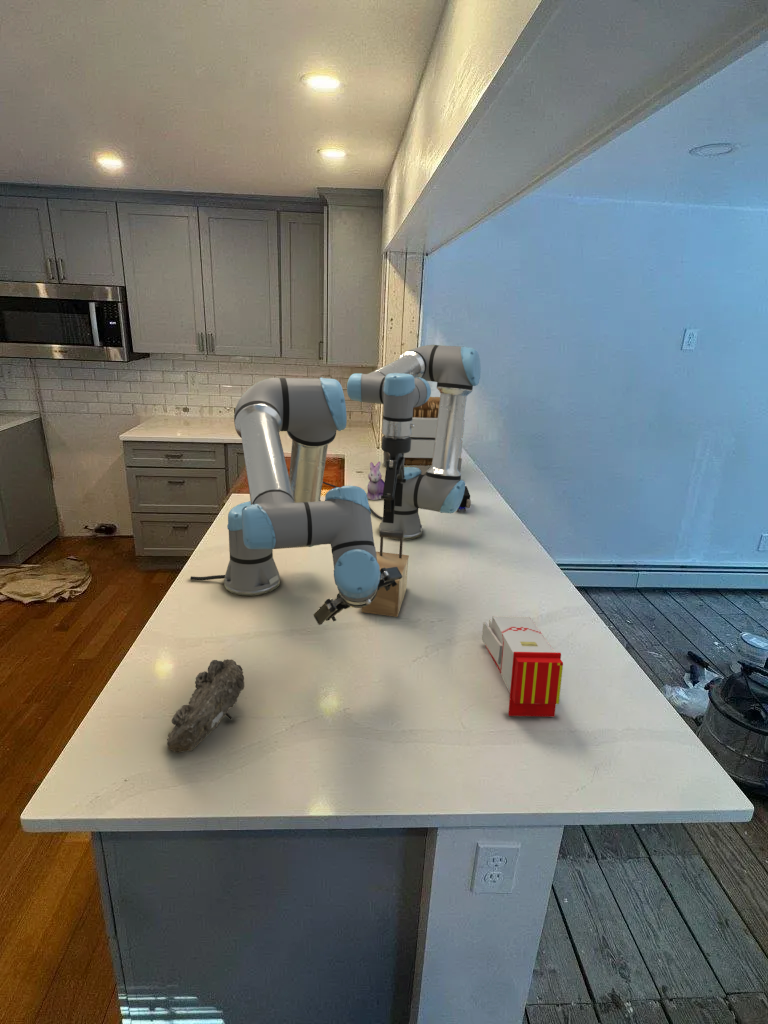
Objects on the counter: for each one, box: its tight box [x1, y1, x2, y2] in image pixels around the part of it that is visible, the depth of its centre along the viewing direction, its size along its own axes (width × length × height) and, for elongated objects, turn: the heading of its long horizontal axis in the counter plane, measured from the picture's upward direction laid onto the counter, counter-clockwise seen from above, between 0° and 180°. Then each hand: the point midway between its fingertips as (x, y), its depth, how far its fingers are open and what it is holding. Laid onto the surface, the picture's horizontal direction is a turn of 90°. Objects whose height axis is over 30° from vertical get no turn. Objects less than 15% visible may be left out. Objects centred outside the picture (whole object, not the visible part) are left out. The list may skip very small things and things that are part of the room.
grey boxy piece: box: [383, 396, 465, 474], centre depth 268 cm, size 34×33×41 cm
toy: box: [481, 615, 564, 718], centre depth 123 cm, size 12×13×30 cm
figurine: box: [366, 461, 385, 501], centre depth 235 cm, size 9×10×15 cm
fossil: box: [166, 658, 245, 754], centre depth 106 cm, size 22×10×15 cm
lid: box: [376, 530, 410, 584], centre depth 150 cm, size 16×10×8 cm, turn 169°
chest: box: [361, 560, 409, 618], centre depth 152 cm, size 16×10×9 cm, turn 169°
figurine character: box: [456, 485, 472, 513], centre depth 228 cm, size 7×8×15 cm
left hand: (358, 600), depth 127 cm, fingers open, 13 cm apart
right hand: (392, 513), depth 152 cm, fingers open, 13 cm apart
